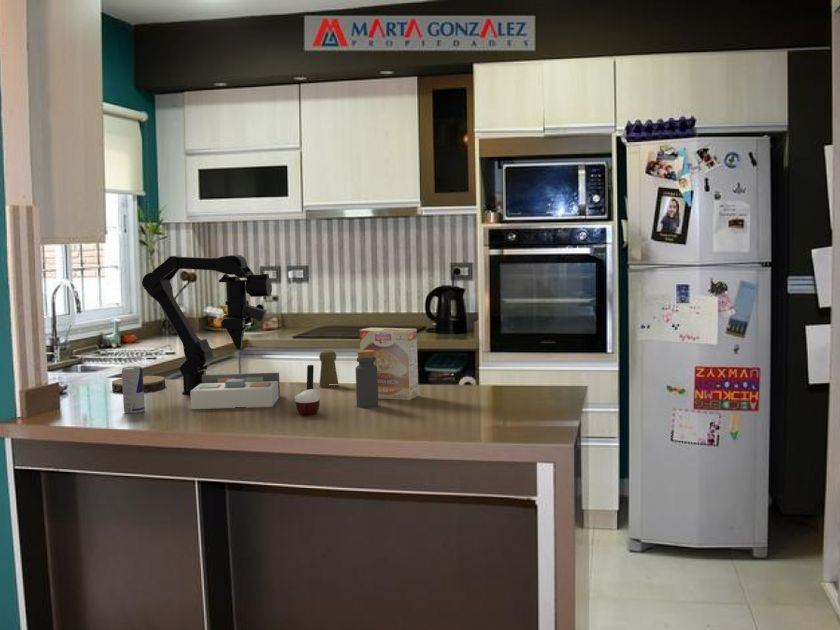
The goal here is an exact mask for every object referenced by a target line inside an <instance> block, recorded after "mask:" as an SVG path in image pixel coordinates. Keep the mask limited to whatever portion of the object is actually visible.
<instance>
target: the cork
mask: <svg viewBox="0 0 840 630" xmlns="http://www.w3.org/2000/svg"><path fill="white" fill-rule="evenodd" d="M318 357H319V360H320V362H321V365H320V375H319V384H320V385H319V384H318V386H319V388H322V387H324V389H325V388H326V389H327V388H329V389H330V388H331V389H332V388H335V387H334V386H338V385H329V384H339V380H338V379H339V378H338V373H337V367H336V360H337V353H336V351H334V350H330V349H329V350H328V349H327V350H322V351H321V352H320V353H319V356H318ZM338 387H339V386H338Z"/></svg>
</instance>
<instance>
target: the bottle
mask: <svg viewBox="0 0 840 630" xmlns="http://www.w3.org/2000/svg"><path fill="white" fill-rule="evenodd" d="M356 352H357V356H358V357H356V362H357V363H358V365H357V366H356V367H355V391H356V392H355V393H356V398H355V399H356V407H357V408H361V409H370V408H372V409H373V408H376V407H378V406H379V399H378V375H377V366H375V365H374V361H376V357H374V352H375V351H374V350H360V349H359V350H357V351H356Z"/></svg>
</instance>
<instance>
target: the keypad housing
mask: <svg viewBox="0 0 840 630" xmlns="http://www.w3.org/2000/svg"><path fill="white" fill-rule="evenodd" d="M228 379H245V387H240V388H225V382H226V381H227V380H228ZM253 383H270V386H269V387H251V385H252V384H253ZM206 384H220V387H219V388H208V389H200V387H201V386H202V385H206ZM280 384H281V383H280V372H256V373H255V372H253V373H252V372H251V373H250V372H249V373H219V374H218V373H213V374H206V375H202V383H201V384H199V385H198V386H196V387H195V388H194V389H192V390H191V391H190V409H191V410H206V409H207V410H209V409H210V410H212V409H236V408H235V407H246V408H268V407H269V408H271V407H272V408H273V406H275V404H276V403H277V401H278V400H279V398H280V397H281V388H280Z"/></svg>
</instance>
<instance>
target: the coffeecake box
mask: <svg viewBox="0 0 840 630" xmlns="http://www.w3.org/2000/svg"><path fill="white" fill-rule="evenodd" d="M359 346H360V347H359V350H374V351H375V352H374V357H376V361H374V365H375V366H377V375H378V400H379V399H380V400H381V399H384V400H399V401H411V400H412V399H414V398H417V397H419V371H418V370H419V369H418V365H419V364H418V331H417V328H400V327H398V328H395V327H367V328H362V329H359Z"/></svg>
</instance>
